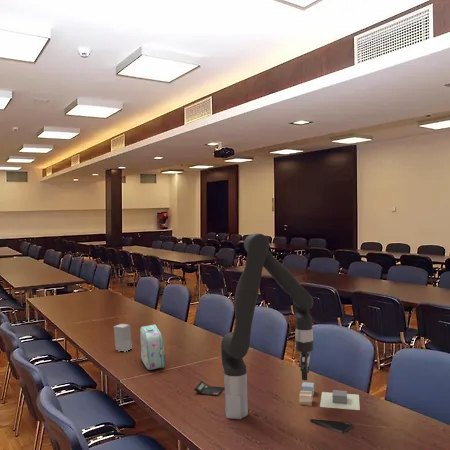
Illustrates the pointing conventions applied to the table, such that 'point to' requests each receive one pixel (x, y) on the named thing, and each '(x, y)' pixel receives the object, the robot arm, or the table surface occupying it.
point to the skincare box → (122, 337)
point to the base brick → (339, 396)
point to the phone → (333, 425)
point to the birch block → (305, 398)
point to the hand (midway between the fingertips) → (305, 376)
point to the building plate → (351, 403)
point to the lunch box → (152, 347)
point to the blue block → (308, 387)
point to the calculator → (208, 389)
